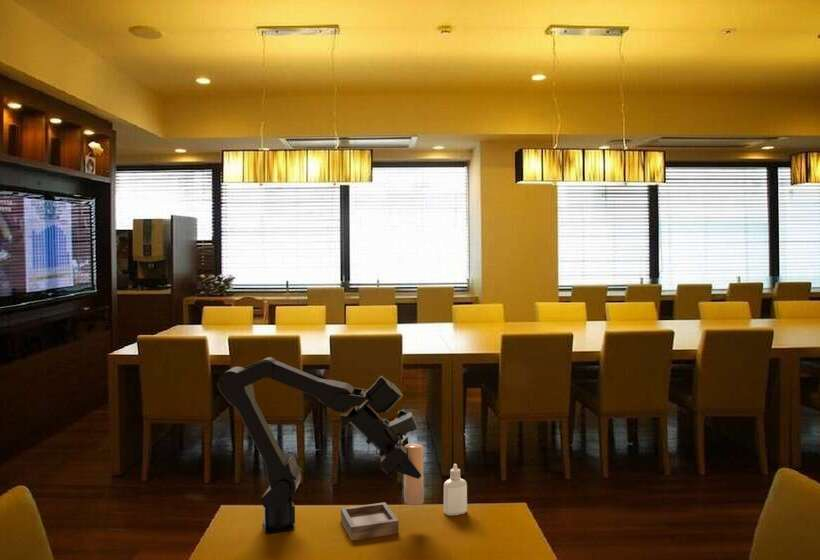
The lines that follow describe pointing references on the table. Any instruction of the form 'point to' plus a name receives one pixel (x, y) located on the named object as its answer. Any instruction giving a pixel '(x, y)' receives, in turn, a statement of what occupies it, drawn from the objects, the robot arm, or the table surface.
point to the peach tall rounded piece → (411, 484)
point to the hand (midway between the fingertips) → (419, 473)
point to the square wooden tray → (369, 521)
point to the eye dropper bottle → (455, 494)
